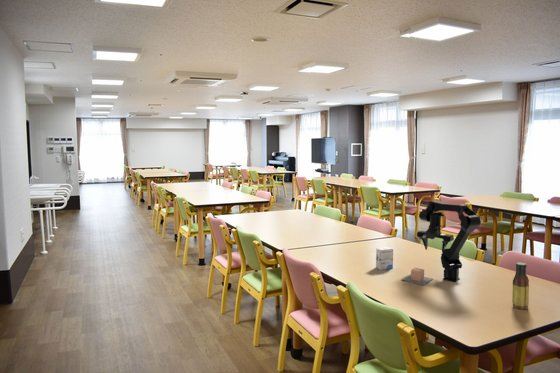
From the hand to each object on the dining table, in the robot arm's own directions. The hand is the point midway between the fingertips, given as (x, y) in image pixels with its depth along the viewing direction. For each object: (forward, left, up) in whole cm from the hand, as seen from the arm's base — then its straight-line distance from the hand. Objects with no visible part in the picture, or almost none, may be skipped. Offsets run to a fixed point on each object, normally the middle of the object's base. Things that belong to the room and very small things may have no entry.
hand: (434, 251), depth 229 cm
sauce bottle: (-48, +24, -12) cm, 55 cm away
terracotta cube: (+1, +19, -11) cm, 22 cm away
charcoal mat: (+1, +19, -12) cm, 22 cm away
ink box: (+24, +12, -12) cm, 29 cm away
